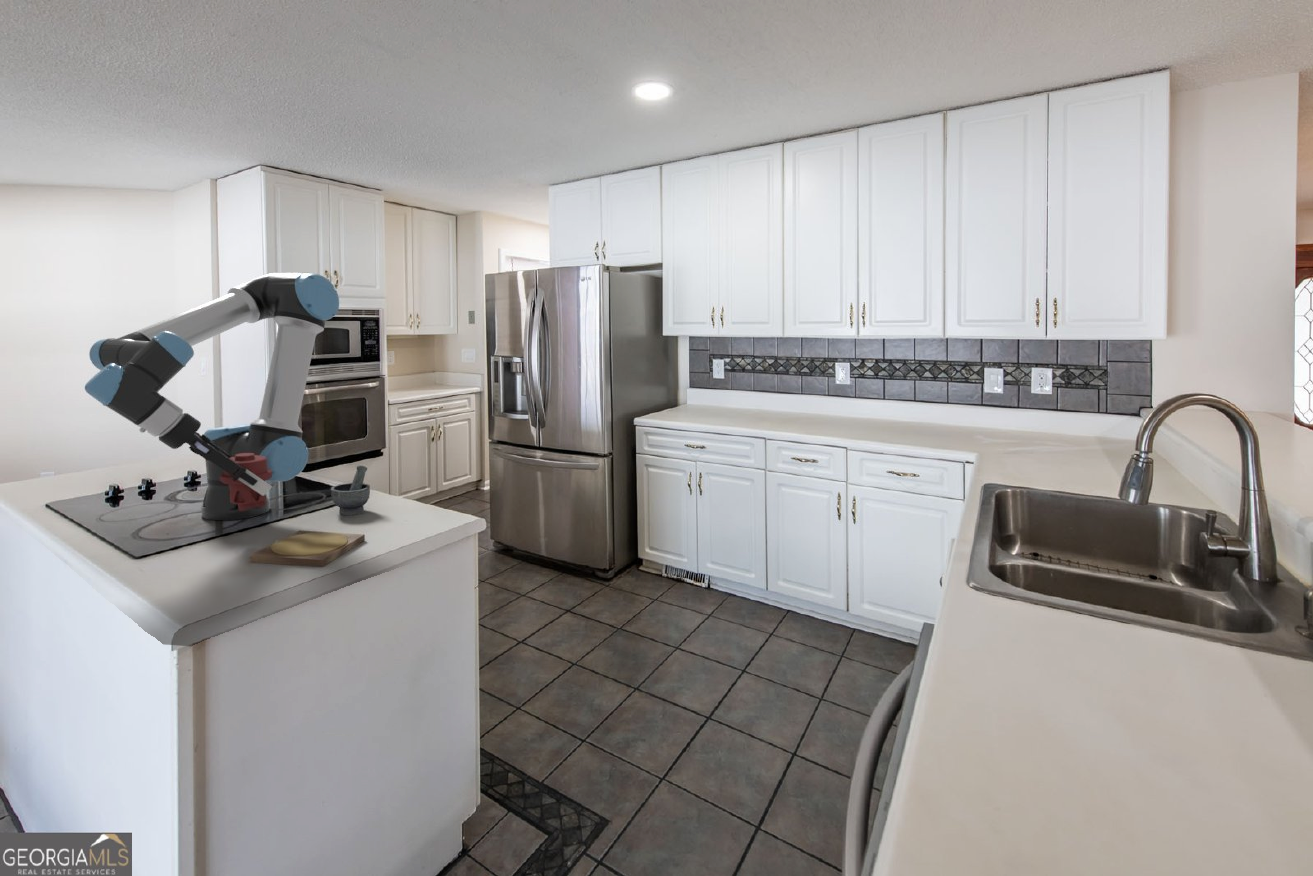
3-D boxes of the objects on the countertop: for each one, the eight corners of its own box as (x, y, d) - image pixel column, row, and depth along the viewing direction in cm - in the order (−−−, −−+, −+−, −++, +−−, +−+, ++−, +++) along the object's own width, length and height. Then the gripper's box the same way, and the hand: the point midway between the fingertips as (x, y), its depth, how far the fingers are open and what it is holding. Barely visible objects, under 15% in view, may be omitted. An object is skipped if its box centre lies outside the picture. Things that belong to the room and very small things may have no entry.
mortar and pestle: (355, 518, 166) (353, 474, 164) (323, 515, 168) (321, 471, 166) (381, 507, 177) (380, 465, 175) (351, 504, 179) (350, 462, 177)
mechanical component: (239, 515, 140) (213, 508, 144) (283, 505, 148) (258, 498, 153) (234, 461, 137) (208, 455, 142) (279, 453, 146) (254, 448, 151)
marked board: (299, 536, 151) (299, 529, 151) (364, 540, 150) (364, 533, 150) (249, 562, 134) (249, 553, 134) (322, 566, 134) (322, 558, 133)
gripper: (152, 430, 141) (241, 487, 154) (160, 447, 125) (259, 510, 138) (179, 405, 144) (265, 464, 157) (191, 418, 127) (285, 483, 140)
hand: (262, 485), depth 147 cm, fingers closed on mechanical component, 10 cm apart
